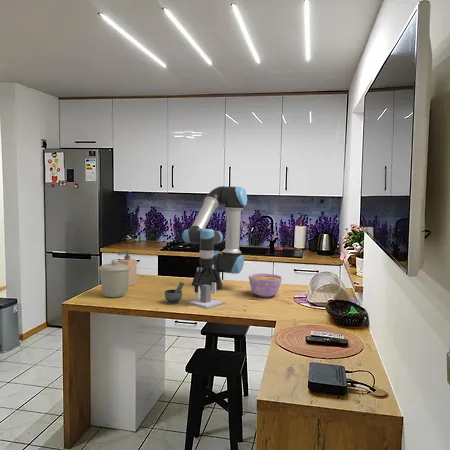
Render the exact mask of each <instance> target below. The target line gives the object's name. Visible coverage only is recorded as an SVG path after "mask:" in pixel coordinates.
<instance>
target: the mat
mask: <svg viewBox="0 0 450 450" xmlns="http://www.w3.org/2000/svg"><path fill="white" fill-rule="evenodd" d="M226 304H227V303H226V302H222V304H218V305H215V306H212V307H208V308H205V307H201V306H197V305H193V304H189V301H188V302H185V305H190V306H193V307H197V308H201V309H205V310H208V309H212V308H215V307H218V306H222V305H226Z"/></svg>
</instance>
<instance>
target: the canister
mask: <svg viewBox="0 0 450 450" xmlns="http://www.w3.org/2000/svg"><path fill="white" fill-rule="evenodd" d="M130 268H131V267H130V266H128V265H126V264H120V263H118V259H112V260H111V262H110V263H105V264H102V265H100V266H98V268H97V269H98V270H99V276H100V279H99V280H100V286H101V287H100V288H101V293H102V295H103V296H104V297H106V298H114V299H115V298H122V297H124V296H125V295H126V293H127V290H128V287H127V286H128V278H129V269H130Z"/></svg>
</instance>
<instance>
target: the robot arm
mask: <svg viewBox="0 0 450 450" xmlns="http://www.w3.org/2000/svg"><path fill="white" fill-rule="evenodd" d="M247 203H248V195H247V191H246V189H245V187H243V186H242V187H241V186H222V185H220V186H217V187H215V188H214V189H212V190H210V191H209V192H208V193H207V194H206V196H205V197H204V199H203V204H202V207H201V209H200V210H199V212H198V215H197V216H196V217H195V219H194V220H193V221H194V222H192V225H191V226H190V229H189V228H188V229H185V230H184V231H183V232H182V239H183V242H184V243H189V244H199V265H200V267H196V269H195V272H194V273H195V274H194V276H193V279H192V282H191V286H193V287H194V298H195V299H200V293H201V285H205V284H206V285H211V295H216V294H217V290H221V289H222V288H223V283H222V279H221V273H225V274H226V273H227V274H228V273H229V274H236V275H237V274H240V273H241V272H242V270H243V268H244V264H245V256H243V255H242V251H241V250H240V239H241V238H240V236H241V235H240V233H241V218H242V216H241V213H242V211H243V210H244V207H245V206H247ZM219 206H224V208H225V210H226V211H227V212H226V227H225V228H226V231H225V248H224V250H223V251H222V253H221V251H220V250H215V247H214V246H216V245H219V244H220V243H222V241H223V237H224V235H223V234H222V232H220V231H219V230H214V229H213V228H207V226H208V223H209V222H210V219H211V218H212V215H213V214H214V211H215V210H216V209H218V207H219Z"/></svg>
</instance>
